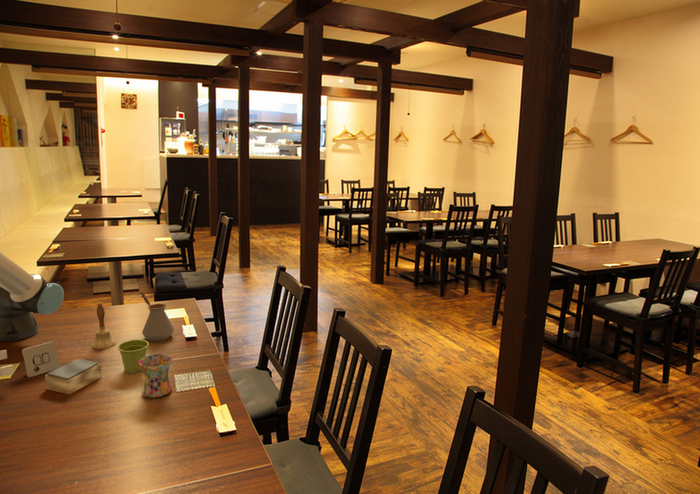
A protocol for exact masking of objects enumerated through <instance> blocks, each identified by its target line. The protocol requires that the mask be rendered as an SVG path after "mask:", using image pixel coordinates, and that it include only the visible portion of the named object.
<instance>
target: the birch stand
mask: <svg viewBox="0 0 700 494" xmlns="http://www.w3.org/2000/svg"><path fill="white" fill-rule="evenodd" d="M44 376H45V377H44V379H45V380H44V381H45V387H46V390H49V391H53V392H58V393H62V394H66V395H71V394H73V393H75V392H77V391H78V390H80V389H83V388H84V387H86V386H87V385H89V384H91V383H93V382H95V381H96V380H99V379H100V378H102V377H103V376H102V365H101V363H99V362H97V361H92V360H88V359H87V360H86V359H82V358H77V359H74V360H73V361H70V362H69V363H66V364H64V365H62V366H60V367H59V368H58V369H56V370H52V371H49V372H46V374H45V375H44Z"/></svg>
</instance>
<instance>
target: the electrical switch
mask: <svg viewBox="0 0 700 494" xmlns="http://www.w3.org/2000/svg"><path fill="white" fill-rule="evenodd" d="M21 353H22V354H21V355H22V356H23V360H24V361H23V362H24V365H25V370H26V377H27V378H33V377H36V376H39V375H42V374H45V373H46V374H47V373H49V372H52V371H54V370H56V369H58V368H60V367H61V365H60V360H59V355H58V351H57V347H56V342H55V341H48V342H44V343H41V344H37V345H33V346H30V347H26V348H22V350H21ZM35 369H36V370H35Z"/></svg>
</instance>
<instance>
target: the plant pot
mask: <svg viewBox="0 0 700 494" xmlns="http://www.w3.org/2000/svg"><path fill="white" fill-rule="evenodd" d="M149 345H150V343H149V341H147V340H144V339H132V340H131V339H130V340H127V341H124V342H121V343H119V344H118V345H117V350H118V351H119V353H120V356H121V360H122V364H123V369H124V372H126V373H127V374H136V373H139V372H140V371H141V372H143V371H142V369H141V367H140V366H139V361H140V360H141V359H142V358H144V357H146V356H147V350H148V347H149Z"/></svg>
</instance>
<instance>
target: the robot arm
mask: <svg viewBox="0 0 700 494" xmlns="http://www.w3.org/2000/svg"><path fill="white" fill-rule="evenodd" d="M64 295H65V291H64V289H63V287H62V286H61V285H60V284H58V283H55V282H48V280H46V279H45V278H43V277H42V276H40V275H39V274H37V273H29V272H27V271H26V270H25V269H24V268H22V267H21V266H20V265H18V264H17V263H15V261H13V260H12V259H10V258H8V257H7V256H6V255H5V254H3V253H2V252H1V251H0V342H1V343H3V342H16V341H19V340H20V341H21V340H24V339H28V338H30V337H33V336H35V335H37V333H39V324H38V323H37V320H36V319H35V317H34V315H33V313H34V314H39V315H51V314H53V313H55V312H57V311H58V310H59V309H60V308H61V307H62V304H63V302H64V299H65V297H64ZM7 351H8V350H7V349H3V350H0V361H1V360H5V359H8V352H7ZM9 375H14V365H13V364H9V365H4V366H1V367H0V378H1V377H5V376H6V377H7V376H9Z"/></svg>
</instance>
